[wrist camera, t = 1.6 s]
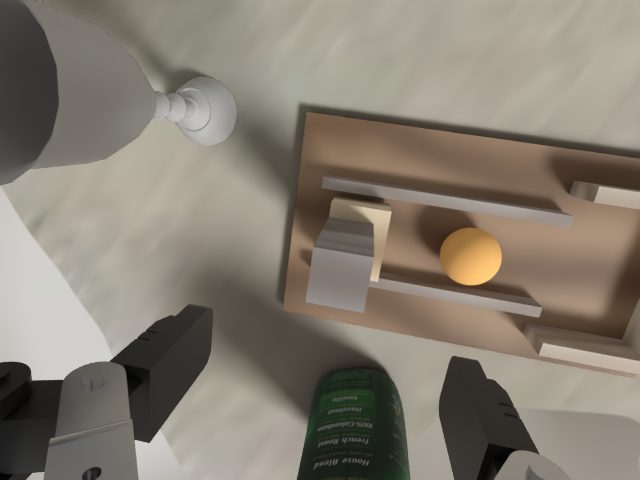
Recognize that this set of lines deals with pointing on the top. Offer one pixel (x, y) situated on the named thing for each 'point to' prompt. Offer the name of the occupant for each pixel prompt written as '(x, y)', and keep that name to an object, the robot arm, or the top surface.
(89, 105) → the chalice
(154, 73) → the top surface
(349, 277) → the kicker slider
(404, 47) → the top surface
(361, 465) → the coffee jar
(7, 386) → the robot arm
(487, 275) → the ball
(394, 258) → the board
